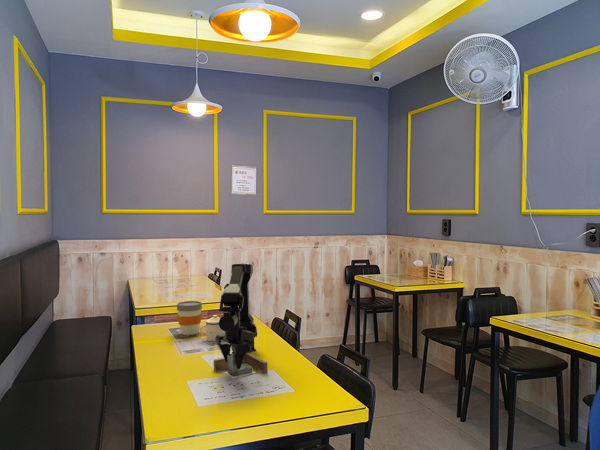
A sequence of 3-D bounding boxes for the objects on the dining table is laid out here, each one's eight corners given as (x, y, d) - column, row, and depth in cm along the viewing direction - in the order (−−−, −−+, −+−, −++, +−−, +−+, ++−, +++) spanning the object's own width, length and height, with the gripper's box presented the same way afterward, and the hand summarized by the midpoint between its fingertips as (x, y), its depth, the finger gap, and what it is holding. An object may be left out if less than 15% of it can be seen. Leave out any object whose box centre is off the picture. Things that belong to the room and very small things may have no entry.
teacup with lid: (223, 335, 228) (223, 312, 228) (226, 340, 220) (226, 316, 219) (198, 338, 225) (198, 314, 224) (201, 343, 216) (200, 318, 216)
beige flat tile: (246, 367, 182) (246, 367, 182) (256, 373, 176) (256, 372, 176) (224, 372, 176) (224, 372, 176) (233, 378, 170) (233, 378, 170)
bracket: (233, 376, 172) (233, 357, 171) (227, 372, 176) (227, 354, 176) (252, 372, 176) (252, 353, 176) (246, 368, 180) (246, 350, 180)
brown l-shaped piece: (248, 362, 188) (248, 352, 188) (267, 372, 176) (267, 362, 176) (213, 369, 180) (213, 359, 180) (231, 381, 167) (231, 370, 167)
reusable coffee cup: (199, 335, 229) (198, 305, 229) (174, 336, 229) (173, 305, 229) (204, 329, 242) (204, 300, 241) (180, 329, 242) (180, 301, 241)
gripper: (263, 326, 171) (263, 368, 171) (240, 316, 186) (240, 355, 186) (236, 330, 164) (236, 374, 165) (214, 320, 180) (215, 360, 180)
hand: (232, 365), depth 174 cm, fingers open, 9 cm apart
